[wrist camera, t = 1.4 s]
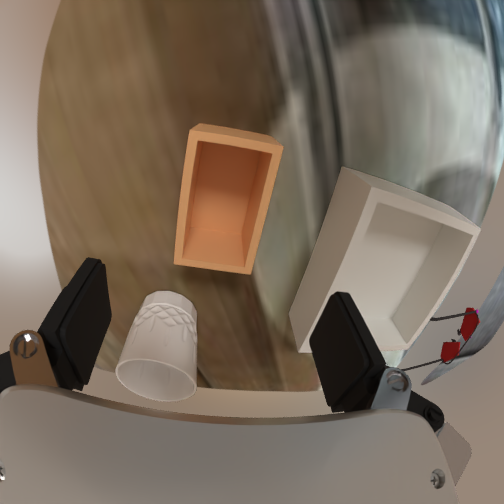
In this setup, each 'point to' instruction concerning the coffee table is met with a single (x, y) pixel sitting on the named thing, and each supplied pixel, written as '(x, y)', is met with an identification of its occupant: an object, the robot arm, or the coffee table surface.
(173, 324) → the white cup
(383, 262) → the box
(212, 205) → the orange crate
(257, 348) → the coffee table surface
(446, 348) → the glasses
